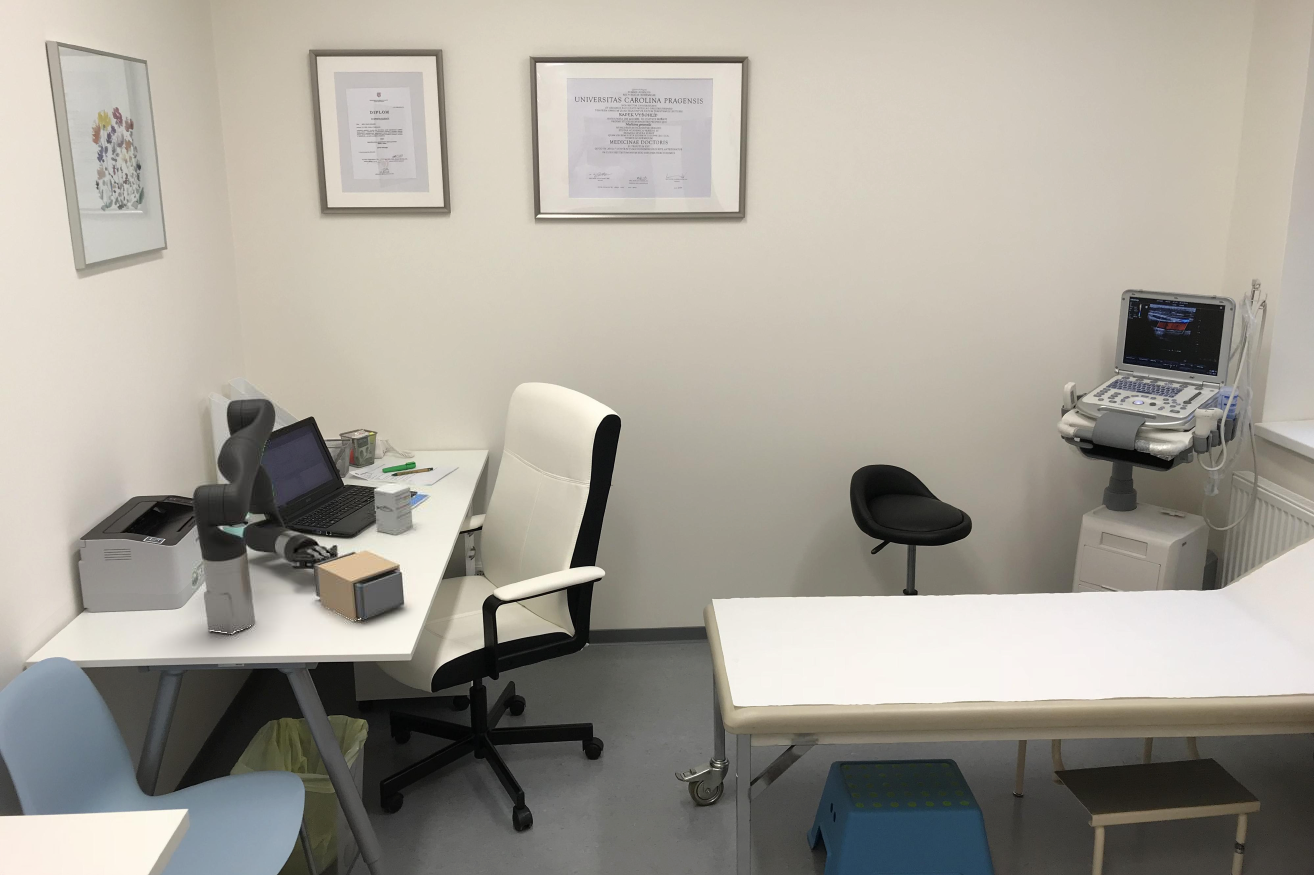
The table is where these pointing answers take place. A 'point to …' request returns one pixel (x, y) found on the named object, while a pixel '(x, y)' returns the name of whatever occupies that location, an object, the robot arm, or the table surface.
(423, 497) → the tablet computer
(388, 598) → the mailer tray
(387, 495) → the supplement box
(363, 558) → the mailer sleeve
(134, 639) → the table surface
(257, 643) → the table surface
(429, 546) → the table surface
